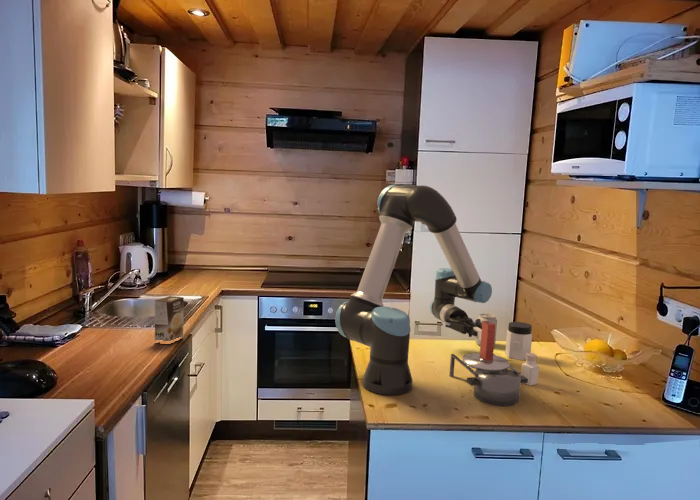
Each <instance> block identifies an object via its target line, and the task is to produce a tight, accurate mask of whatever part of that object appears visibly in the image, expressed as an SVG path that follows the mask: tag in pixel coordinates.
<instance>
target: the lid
mask: <svg viewBox="0 0 700 500" xmlns="http://www.w3.org/2000/svg"><path fill="white" fill-rule="evenodd" d="M494 337H495V324H494V323H492V322H490V321H482V332H481V345H480V346H479V352H476V353H475V352H473V353H468V354H464V355H463V357H462V361H463V363H464V364H466V365H467V366H469V367H470V368H471V369H475V370H476V369H479V370H484V371H503V370H506V369H510V368H509V365H510V362H509V360H508V359H506V358H504V357H501V356H498V355H496V354H495V355H493V354H494V349H495V345H494Z"/></svg>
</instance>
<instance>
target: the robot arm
mask: <svg viewBox="0 0 700 500" xmlns="http://www.w3.org/2000/svg"><path fill="white" fill-rule="evenodd" d="M376 202H377V205H376V206H377V207H378V208H377V212H378V213H379V216H378V219H379V222H380V227H379V230H378V233H377V235H376V237H375V240H374V244H373V246H372V249H371V252H370V253H369V256H368V260H367V262H366V265H365V268H364V271H363V274H362V276H361V279H360V282H359V285H358V288H357V290H356V291H355V292H354V293H352V294H350V296H349V299H348V301H345V302H343V303H342V304H339V307H338V308H337V310H336V313H335V318H334V319H335V327H336V328H337V331H338V333H339V334H340V335H341V336H343V337H344V338H347V340H349V341H353V342H357V343H359V344H361V345H364V346H366V347H369V361H368V363H367V366H366V369H365V372H364V374H363V378H362V385H363V387H364V388H365V389H366V390H368V391H369V392H372V393H375V394H378V395H386V396H399V395H403V394H407V393H409V392H410V391H411V390H412V389H413V381H414V380H413V376H412V373H411V369H410V366H409V352H410V351H409V350H410V340H411V339H410V338H411V320H410V316H409V314H408V313H407V312H405V311H404V310H401V309H399V308H396V307H390V306H385V305H384V303H383V298H384V296H385V292H386V290H387V286H388V284H389V281H390V278H391V275H392V272H393V270H394V267H395V264H396V262H397V258H398V256H399V253H400V250H401V247H402V245H403V242H404V240H405V236H406V234H407V232H410V231H412V230H413V227H414V224H415V222H418V223H422V224H423V225H425V226H426V227H427V229H428V231H429V232H430V233H431V234H433V235H434V236H435V239H436V240H437V242H438V244H439V246H440V249H441V250H442V252H443V255H444V256H445V259H446V261H447V262H448V265H449V268H448V267H447V268H446V267H444V268H443V267H442V268H438V269H437V270H436V273H435V279H434V281H435V283H434V284H435V285H434V298H433V300H432V301H431V303H430V304H429V310H430V313H431V314H432V316H433V317H434V318H436V319H437V320H440V321H441V322H442V323H444V324H445V328H448V329H451V330H453V331H455V332H458V333H460V334H463V335H468V337H469V338H472V337H475V339H476V338H478V339H479V340H481V332H482V323H481V322H480V319H474V320H473V318H471V317H469V316H468V314H467V312H466V310H463V309H462V308H460V307H458V305H457V306H456V305H455V302H456V301H455V300H456V298H458V299H463V300H466V301H471V302H474V303H479V304H486V303H487V302H489V300H490V299H491V297H492V294H493V288H492V287H493V286H492V285H491V284H490V283H489V282H486V281H484V280H481V277H480V274H479V272H478V270H477V268H476V266H475V264H474V261H473V260H472V257H471V254H470V253H469V249H468V248H467V246H466V243H465V242H464V239H463V238H462V235H461V233H460V231H459V228H458V227H457V220H458V219H457V216H456V214H455V212H454V210H453V208H452V206H451V205H450V203H449V202H448V201H447V200H446V198H445V197H444V196H443V195H442V194H441V193H440V192H439V191H437V189H434V188H433V187H431V186H428V185H413V184H403V183H397V184H390V185H388V186H386V187H385V188H384V189H382V191H380V193H379V196H378V198H377V201H376Z"/></svg>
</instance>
